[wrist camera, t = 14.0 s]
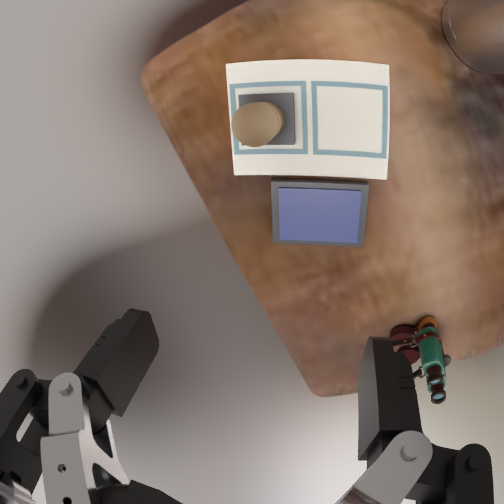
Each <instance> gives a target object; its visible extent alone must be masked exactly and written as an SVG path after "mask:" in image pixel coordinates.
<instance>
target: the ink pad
mask: <svg viewBox="0 0 504 504" xmlns="http://www.w3.org/2000/svg"><path fill="white" fill-rule="evenodd" d="M368 195H369V184H368V182H359V181H341V180H317V179H272V180H271V199H272V228H273V243H286V244H309V245H331V246H352V247H363V244H364V235H365V226H366V217H367V206H368Z"/></svg>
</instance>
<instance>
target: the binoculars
mask: <svg viewBox="0 0 504 504" xmlns="http://www.w3.org/2000/svg"><path fill="white" fill-rule="evenodd" d="M436 327H437V325H436V321H435V318H434V317H432V316H428V317H426V318H424V319H423V320H422V321H421V322H420V323H419V324H418V327H417V328H411V327H407V326H401V327H397V328H395V329H393V330H392V331H391V334H390V336H391V339H392V344H393V347H395V346H402V347H401V348H400V349H399V351H398V352H403V353H404V354H405V356H406V357H407V359H408V360H409V362H410V363H411V364H413V363H415V362H416V361H417V360H418V359H419V358H420V357H421V362H422V366H420V367H419V370H417V371H415V372H414V373H413V378H414V379H415V378H416V377H418V376H419V377H420V378H422V377H424V376H425V375H426V378H427V385H428V390H429V392H430V393H432V394H431V401H432V403H434V404H440V403H442V402H444V401H445V399H446V392H445V391H444V387H445V384H446V373H445V366H447V365H448V364H450V362H451V358H450V356H449V355H445V354H444V353H443V347H442V342H441V339H440V337H439V334H438V332H437V331H436ZM415 331H417V332H418V333H417V336H416V335H415V334H414V332H415ZM415 337H416V338H415ZM414 339H415V341H416V345H412V344H413V340H414ZM417 345H418V346H419V347H417ZM420 368H423V370H424V373H425V374H424V375H423V376H421V375H422V370H421V369H420Z"/></svg>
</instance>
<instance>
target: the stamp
mask: <svg viewBox="0 0 504 504" xmlns="http://www.w3.org/2000/svg"><path fill="white" fill-rule="evenodd" d="M238 98H239V109H237V111H236V112H235V113H234V115H233V117H232V122H231V127H232V132H233V134H234V136H235V137H236V139H237V140H238V141H239V142H241V143H242V145H246V146H249V147H260V146H263V145H295V142H296V135H295V105H294V93H263V94H244V95H238Z"/></svg>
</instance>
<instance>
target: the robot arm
mask: <svg viewBox="0 0 504 504" xmlns="http://www.w3.org/2000/svg"><path fill="white" fill-rule="evenodd" d="M442 27H443V32H444V34H445V37H446V39H447V41H448V43H449V45H450V47H451V49H452V50H453V51H454V53H455V54H456V55H457V56H458V57H459V58H460V59H461V60H462V62H463V63H465V64H466V65H467V66H469V67H470V68H472V69H474V70H475V71H477V72H480V73H484V74H504V0H450V1H449V2H448V3H447V4H446V5H445V7H444V8H443V11H442ZM158 349H159V339H158V336H157V333H156V330H155V327H154V324H153V321H152V318H151V315H150V313H149V312H147V311H142V310H137V309H129V310H128V311H127V312H126V313H125V314H124V316H123V317H122V318H121V319H117V320H116V321H115V322H113V323H112V324H110V325H109V326H108V327H107V328H106V329H105V330H104V332H103V333H102V334H101V337H100V338H98V340H97V341H96V342H95V345H93V346H92V348H91V349H90V350H89V352H88V353H87V354H86V356H85V357H84V358H83V360H82V361H81V363H80V364H79V365H78V367H77V368H76V370H75V371H74V372H73V373H63V374H60V375H59V376H57V377H56V378H54V380H42V379H38V378H37V377H36V376H35V374H34V373H33V372H32V371H31V370H29V369H22V370H19V371H17V372H16V373H15V374H14V375H13V376H12V377H11V379H10V380H9V382H8V383H7V384H6V386H5V387H4V389H3V390H2V392H1V393H0V504H36V503H35V501H34V500H32V497H31V495H32V493H33V491H34V489H35V486H36V484H37V482H38V480H39V478H40V475H41V473H42V472H43V481H44V488H45V495H46V502H47V504H182V503H180V502H179V501H177V500H175V499H173V498H172V497H170V496H168V495H167V494H165V493H164V492H162V491H160V490H158V489H155V488H152V487H149V486H147V485H144V484H142V483H138V482H136V481H134V480H131V482H130V483H129V481H128V478H127V476H126V474H125V472H124V470H123V468H122V467H121V465H120V463H119V460H118V456H117V452H116V448H115V443H114V438H113V434H112V429H111V424H110V420H109V417H110V415H111V413H112V414H115V415H117V416H120V417H122V416H123V414H124V412H125V410H126V408H127V406H128V405H129V403H130V401H131V399H132V397H133V396H134V394H135V392H136V390H137V388H138V387H139V385H140V383H141V381H142V379H143V378H144V376H145V374H146V372H147V370H148V369H149V367H150V365H151V363H152V361H153V360H154V358H155V356H156V354H157V352H158ZM358 400H359V402H358V403H359V440H358V442H359V443H358V460H367V470H366V471H365V473H364V474H363V475H362V476H361V477H360V478H359V479H358V480H357V482H356V483H355V484H354V485H353V486H352V487H351V488H350V489H349V490H348V491H347V492H346V493H345V494H344V495H343V496H342V497H341V498H340V499H339V500H338V501H337V502H336V503H335V504H400V503H401V502H402V501H403V499H404V498H406V499H411V500H416V504H494V495H493V494H494V493H493V476H492V464H491V457H490V454H489V452H488V451H487V449H486V448H485V447H483V446H482V445H479V444H468V445H466V446H465V447H463V448H462V449H461V450H454V449H449V448H444V447H440V446H436V445H434V444H433V443H431V442H430V440H429V439H428V438H427V437H426V436H425V435H424V434H423V431H422V427H421V420H420V414H419V408H418V407H419V406H418V400H417V394H416V390H415V383H414V379H413V372H412V367H411V363H410V362H409V360H408V359H407V357H406V356H405V354H404V353H403V352H394V349H393V344H392V339H391V338H390V337H369V338H368V341H367V344H366V347H365V350H364V354H363V357H362V360H361V363H360V366H359V372H358ZM28 413H29V414H30V415H31V416H33V420H32V422H31V423H30V425H29V427H28V429H27V430H26V432H25V434H24V436H23V438H22V439H21V441H20V442H18V441H17V439H16V434H17V431H18V429H19V428H20V426H21V424H22V423H23V421H24V419H25V418H26V416H27V414H28Z"/></svg>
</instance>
